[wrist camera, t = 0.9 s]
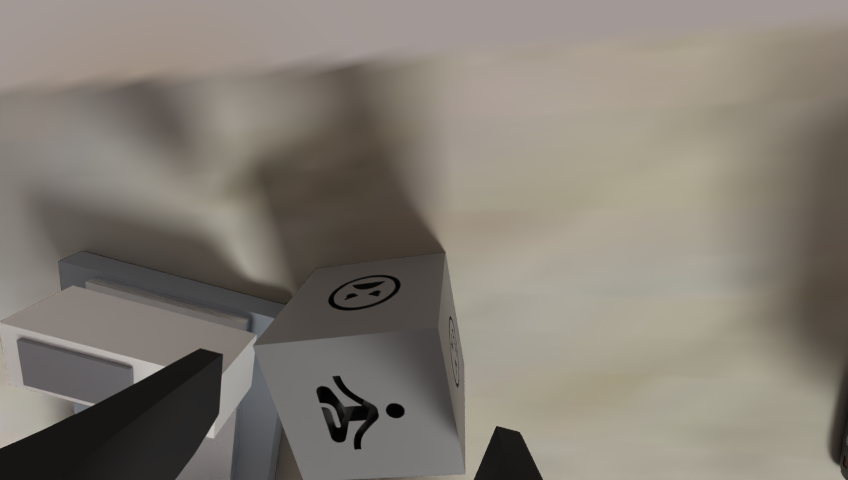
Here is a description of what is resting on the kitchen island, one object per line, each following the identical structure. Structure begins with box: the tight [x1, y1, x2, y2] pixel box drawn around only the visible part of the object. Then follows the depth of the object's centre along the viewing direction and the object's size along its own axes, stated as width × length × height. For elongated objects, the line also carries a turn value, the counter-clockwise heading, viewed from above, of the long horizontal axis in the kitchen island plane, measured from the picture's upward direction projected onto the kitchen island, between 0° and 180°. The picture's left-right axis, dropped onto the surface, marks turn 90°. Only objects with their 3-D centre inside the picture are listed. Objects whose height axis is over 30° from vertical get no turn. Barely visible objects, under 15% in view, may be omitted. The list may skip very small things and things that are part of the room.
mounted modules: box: [0, 286, 257, 439], centre depth 16 cm, size 13×7×3 cm, turn 166°
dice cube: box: [253, 252, 465, 480], centre depth 13 cm, size 5×5×5 cm
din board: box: [58, 251, 286, 480], centre depth 18 cm, size 14×9×2 cm, turn 166°
